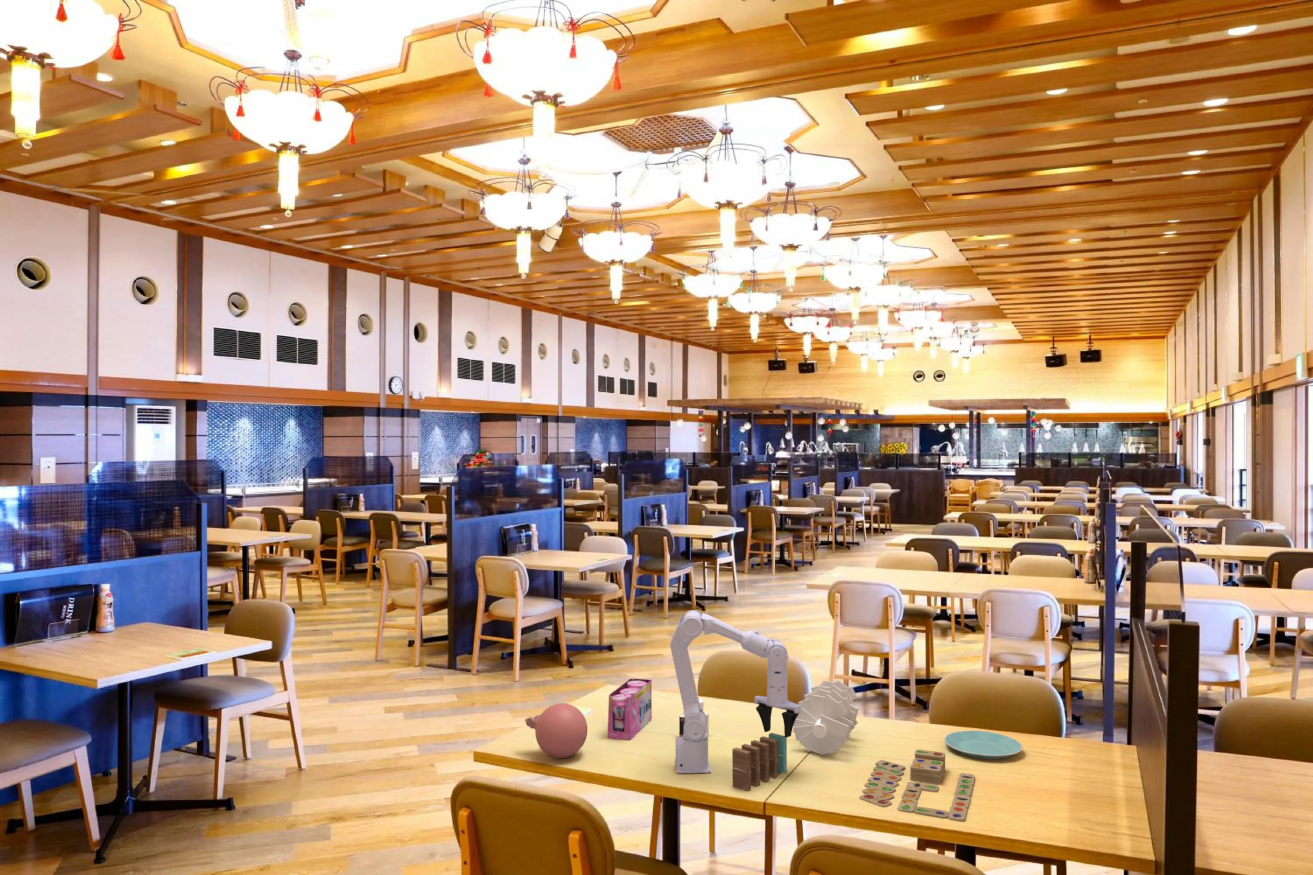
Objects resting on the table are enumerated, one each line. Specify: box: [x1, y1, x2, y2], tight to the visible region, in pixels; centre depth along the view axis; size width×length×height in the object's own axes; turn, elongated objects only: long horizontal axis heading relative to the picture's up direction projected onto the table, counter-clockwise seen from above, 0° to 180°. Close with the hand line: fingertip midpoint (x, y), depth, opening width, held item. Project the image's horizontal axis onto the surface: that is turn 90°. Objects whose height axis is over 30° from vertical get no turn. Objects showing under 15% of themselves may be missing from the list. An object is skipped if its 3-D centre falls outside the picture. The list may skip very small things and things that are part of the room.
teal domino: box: [768, 732, 788, 775], centre depth 243 cm, size 2×5×10 cm, turn 48°
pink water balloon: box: [524, 702, 588, 759], centre depth 256 cm, size 15×20×15 cm
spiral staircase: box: [792, 679, 859, 757], centre depth 265 cm, size 18×18×25 cm
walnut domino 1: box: [731, 747, 752, 792], centre depth 231 cm, size 2×5×10 cm, turn 48°
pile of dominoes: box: [859, 749, 976, 823], centre depth 230 cm, size 35×27×6 cm
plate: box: [943, 730, 1023, 760], centre depth 260 cm, size 22×22×3 cm
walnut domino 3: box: [750, 739, 770, 783], centre depth 237 cm, size 2×5×10 cm, turn 47°
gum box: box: [607, 677, 653, 741], centre depth 281 cm, size 24×8×14 cm, turn 163°
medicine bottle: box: [678, 697, 710, 737], centre depth 273 cm, size 7×7×12 cm
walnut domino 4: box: [759, 736, 779, 779], centre depth 240 cm, size 2×5×10 cm, turn 48°
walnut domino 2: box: [741, 743, 761, 787], centre depth 234 cm, size 2×5×10 cm, turn 47°
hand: (777, 733), depth 243 cm, fingers open, 6 cm apart
